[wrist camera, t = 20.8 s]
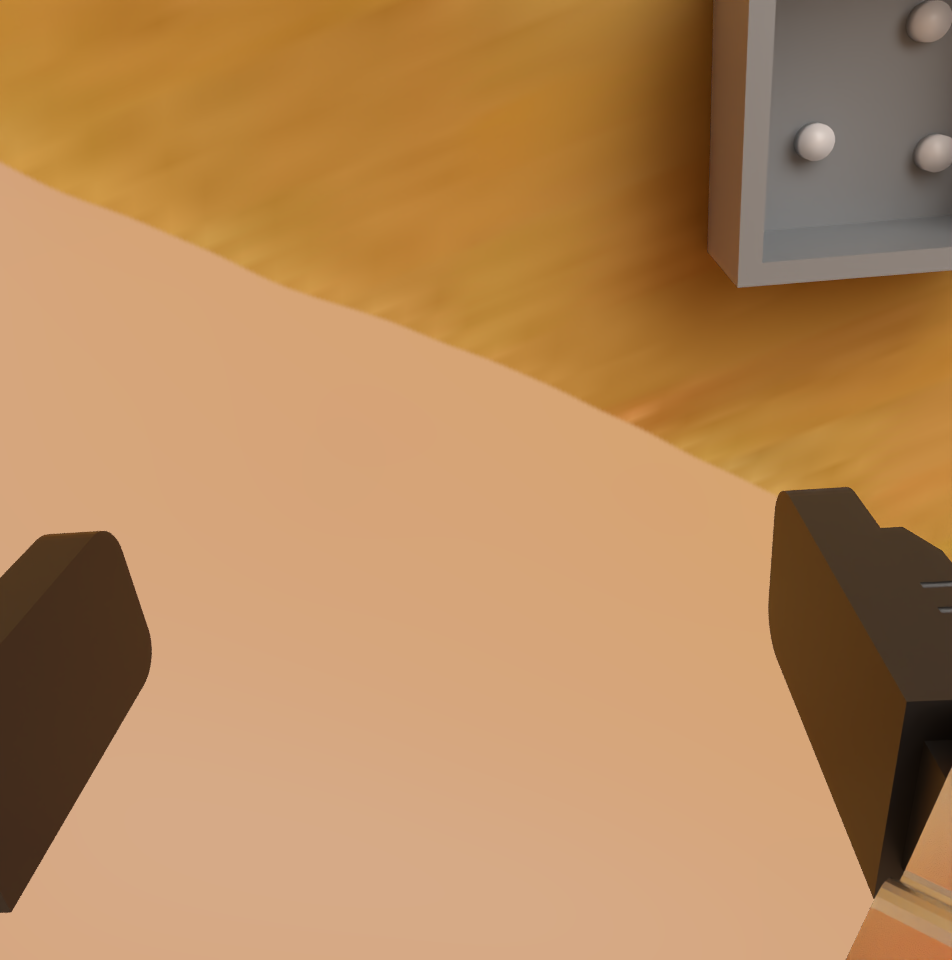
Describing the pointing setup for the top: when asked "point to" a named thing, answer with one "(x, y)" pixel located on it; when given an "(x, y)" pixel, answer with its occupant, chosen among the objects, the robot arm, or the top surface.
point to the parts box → (830, 139)
